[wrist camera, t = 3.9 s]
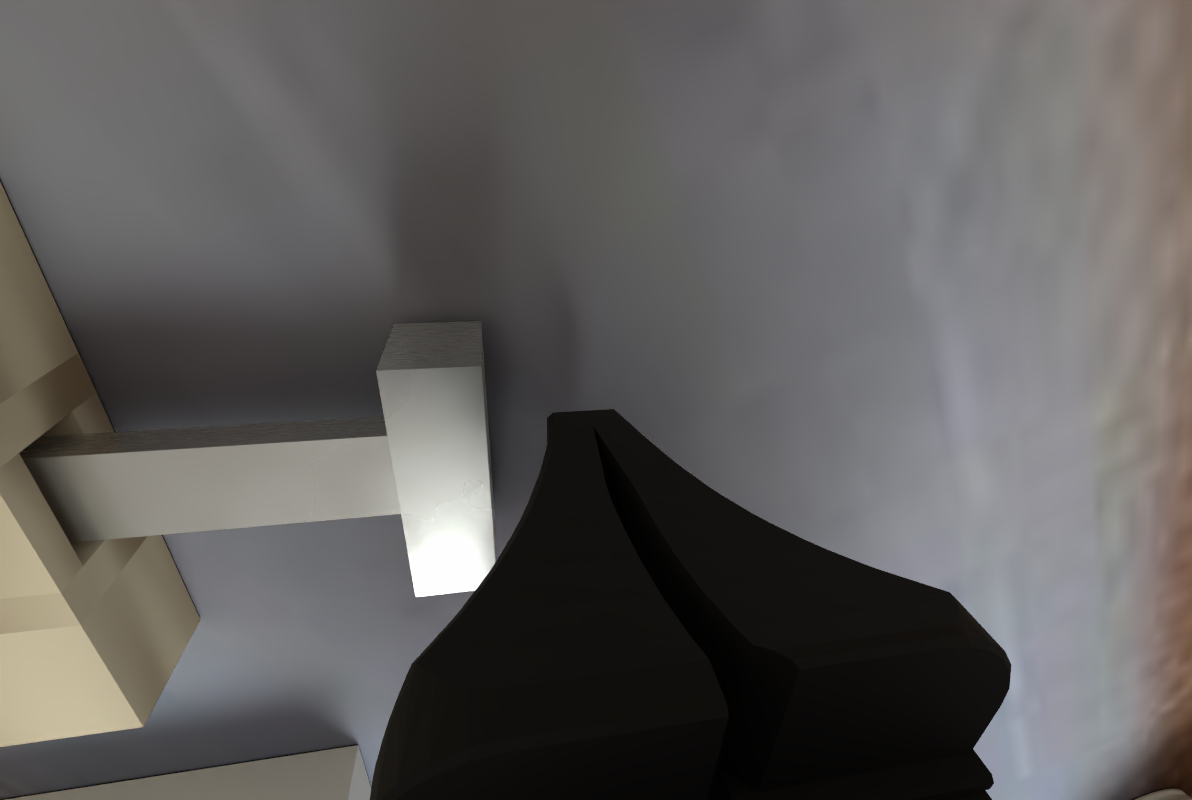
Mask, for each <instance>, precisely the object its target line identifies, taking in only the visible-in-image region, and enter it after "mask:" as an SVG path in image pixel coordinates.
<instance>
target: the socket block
mask: <svg viewBox="0 0 1192 800" xmlns="http://www.w3.org/2000/svg"><path fill="white" fill-rule="evenodd" d="M108 432H114V430H113V428H112V425H111V423H110V421H109V419H108V417H107V414H106V412H105V410H104V408H103V406H102V403H101V401H100V399H99V397H98V395H97V393H96V390H95V388H94V386H93V384H92V382H91V379H90V377H89V375H88V373H87V371H86V368H85V366H84V364H83V362H82V360H81V358H80V355H79V353H78V351H77V349H76V347H75V344H74V342H73V340H72V338H71V336H70V333H69V331H68V329H67V327H66V325H65V322H64V320H63V318H62V316H61V314H60V312H59V309H58V307H57V305H56V303H55V301H54V298H53V296H52V294H51V292H50V290H49V287H48V285H47V283H46V281H45V279H44V276H43V274H42V272H41V270H40V268H39V266H38V263H37V261H36V259H35V257H34V255H33V252H32V250H31V248H30V246H29V244H28V241H27V239H26V237H25V235H24V233H23V231H22V228H21V226H20V224H19V222H18V220H17V217H16V215H15V213H14V211H13V209H12V206H11V204H10V202H9V200H8V198H7V195H6V193H5V191H4V189H3V187H2V185H1V182H0V747H4V746H11V745H19V744H26V743H33V742H40V741H47V740H54V739H61V738H69V737H76V736H83V735H90V734H97V733H104V732H112V731H119V730H126V729H133V728H140V727H144V725H145V723H146V721H147V719H148V717H149V715H150V714H151V712H152V710H153V708H154V706H155V704H156V702H157V700H158V699H159V697H160V695H161V693H162V691H163V689H164V687H165V685H166V683H167V682H168V680H169V678H170V676H171V674H172V672H173V670H174V668H175V667H176V665H177V663H178V661H179V659H180V657H181V655H182V653H183V651H184V650H185V648H186V646H187V644H188V642H189V640H190V638H191V636H192V635H193V633H194V631H195V629H196V627H197V625H198V623H199V621H200V618H199V616H198V614H197V611H196V609H195V607H194V605H193V603H192V601H191V598H190V596H189V594H188V592H187V590H186V587H185V585H184V583H183V581H182V579H181V576H180V574H179V572H178V570H177V568H176V565H175V563H174V561H173V559H172V557H171V555H170V552H169V550H168V548H167V546H166V544H165V541H164V539H163V537H162V535H154V536H142V537H131V538H119V539H108V540H96V541H85V542H73V543H70V542H69V540H68V539H67V537H66V535H65V533H64V532H63V530H62V528H61V526H60V524H59V523H58V521H57V519H56V517H55V516H54V514H53V512H52V510H51V509H50V507H49V505H48V503H47V502H46V500H45V498H44V496H43V495H42V493H41V491H40V489H39V487H38V486H37V484H36V482H35V480H34V479H33V477H32V475H31V473H30V472H29V470H28V468H27V466H26V465H25V463H24V461H23V459H22V458H21V456H20V454H19V453H20V452H21V451H22V450H23V449H25V448H26V447H27V446H29V445H30V444H31V443H32V442H34V441H35V440H36V439H37V438H39V437H40V436H56V435H73V434H90V433H108Z"/></svg>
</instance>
